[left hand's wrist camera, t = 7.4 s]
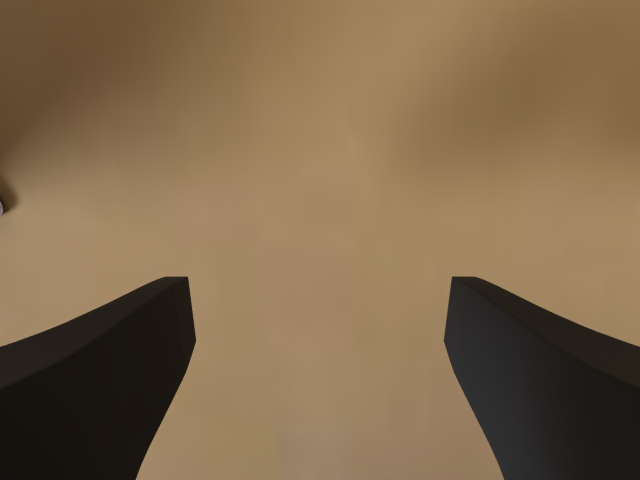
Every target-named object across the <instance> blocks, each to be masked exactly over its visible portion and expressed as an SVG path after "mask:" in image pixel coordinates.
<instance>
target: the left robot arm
mask: <svg viewBox="0 0 640 480" xmlns="http://www.w3.org/2000/svg"><path fill="white" fill-rule="evenodd" d="M2 212H3V206H2V204H1V202H0V215H2ZM195 343H196V336H195V328H194V320H193V313H192V305H191V297H190V289H189V281H188V277H163V278H160V279H157V280H155V281H153V282H150V283H148V284H146V285H144V286H142V287H140V288H138V289H136V290H134V291H132V292H130V293H128V294H125V295H123V296H121V297H119V298H117V299H115V300H113V301H111V302H109V303H107V304H105V305H103V306H101V307H99V308H97V309H94V310H92V311H90V312H88V313H86V314H83V315H81V316H79V317H77V318H75V319H73V320H70V321H68V322H66V323H64V324H61V325H59V326H56V327H54V328H51V329H49V330H46V331H44V332H41V333H38V334H36V335H33V336H30V337H28V338H25V339H22V340H19V341H17V342H14V343H11V344H8V345H5V346H1V347H0V480H136V477H137V474H138V472H139V469H140V466H141V464H142V462H143V459H144V457H145V455H146V453H147V451H148V448H149V446H150V444H151V442H152V440H153V438H154V436H155V434H156V432H157V430H158V428H159V426H160V424H161V422H162V420H163V418H164V416H165V414H166V412H167V410H168V408H169V406H170V404H171V402H172V400H173V398H174V396H175V394H176V392H177V390H178V388H179V386H180V384H181V382H182V380H183V377H184V375H185V373H186V371H187V368H188V365H189V362H190V359H191V356H192V353H193V349H194V346H195ZM444 343H445V346H446V349H447V353H448V356H449V359H450V362H451V365H452V368H453V371H454V373H455V375H456V377H457V380H458V382H459V384H460V386H461V388H462V390H463V392H464V394H465V396H466V398H467V400H468V402H469V404H470V406H471V408H472V410H473V412H474V414H475V416H476V418H477V420H478V422H479V424H480V426H481V428H482V430H483V432H484V434H485V436H486V438H487V440H488V442H489V444H490V446H491V448H492V451H493V453H494V455H495V457H496V459H497V462H498V464H499V466H500V469H501V472H502V474H503V477H504V480H640V347H639V346H636V345H633V344H630V343H627V342H624V341H621V340H618V339H616V338H613V337H610V336H607V335H605V334H602V333H599V332H597V331H594V330H592V329H589V328H586V327H584V326H582V325H579V324H577V323H575V322H572V321H570V320H568V319H565V318H563V317H561V316H559V315H556V314H554V313H552V312H550V311H548V310H546V309H543V308H541V307H539V306H537V305H535V304H533V303H531V302H529V301H527V300H525V299H523V298H521V297H519V296H517V295H515V294H513V293H511V292H509V291H507V290H505V289H503V288H501V287H499V286H496V285H494V284H492V283H490V282H488V281H485V280H483V279H480V278H477V277H452V281H451V289H450V297H449V305H448V313H447V320H446V328H445V336H444Z"/></svg>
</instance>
